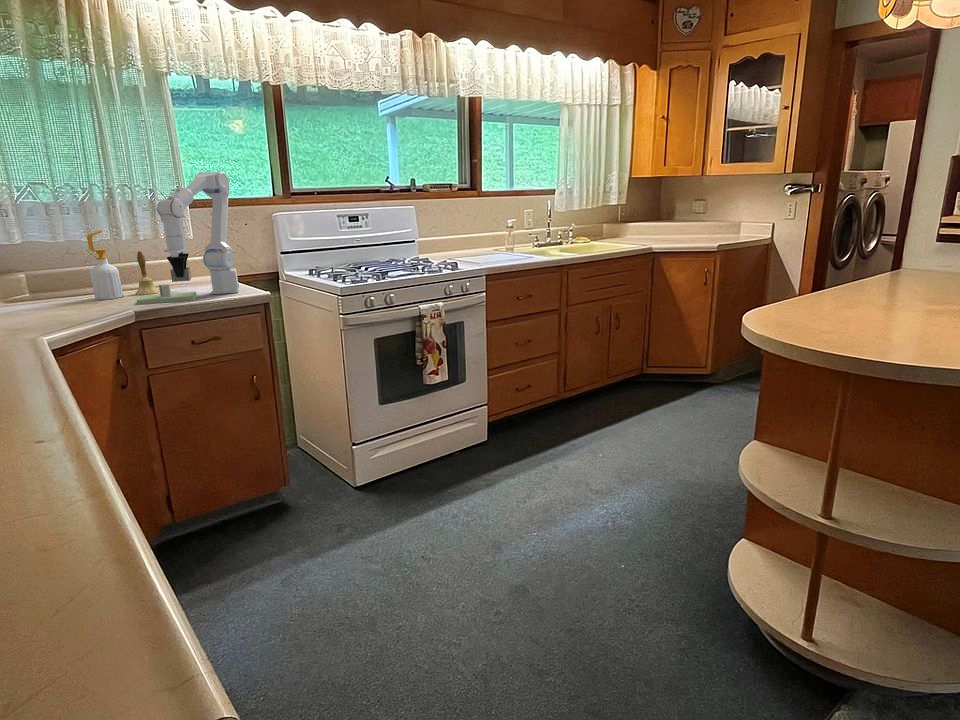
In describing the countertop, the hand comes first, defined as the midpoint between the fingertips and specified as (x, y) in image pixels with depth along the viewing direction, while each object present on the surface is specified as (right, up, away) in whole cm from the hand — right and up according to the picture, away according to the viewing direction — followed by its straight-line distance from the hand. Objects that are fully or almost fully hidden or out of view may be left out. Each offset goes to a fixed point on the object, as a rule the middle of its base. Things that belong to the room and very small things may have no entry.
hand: (181, 276), depth 211 cm
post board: (-9, -7, +9) cm, 15 cm away
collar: (0, -1, 0) cm, 1 cm away
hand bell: (-25, -3, +25) cm, 35 cm away
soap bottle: (-35, -6, +17) cm, 39 cm away
